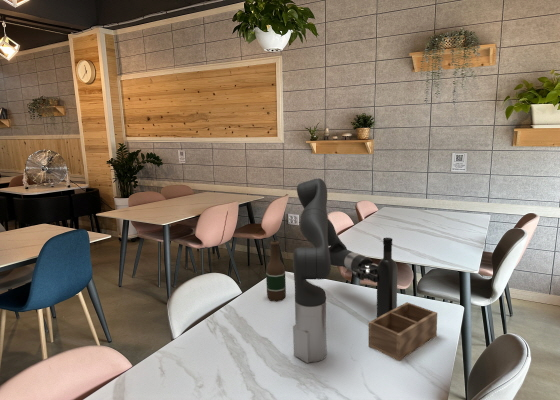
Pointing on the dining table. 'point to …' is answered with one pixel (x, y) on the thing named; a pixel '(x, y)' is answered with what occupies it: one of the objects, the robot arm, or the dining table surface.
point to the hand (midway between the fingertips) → (386, 277)
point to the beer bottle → (275, 275)
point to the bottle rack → (402, 330)
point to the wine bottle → (386, 280)
